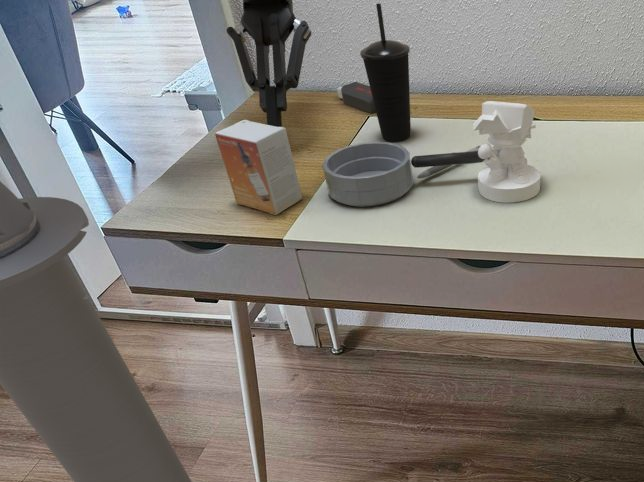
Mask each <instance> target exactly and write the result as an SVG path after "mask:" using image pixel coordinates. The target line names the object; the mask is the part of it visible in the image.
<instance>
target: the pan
mask: <svg viewBox="0 0 644 482" xmlns="http://www.w3.org/2000/svg"><path fill="white" fill-rule="evenodd" d="M322 170H323V174H324V175H323V176H324V179H325V183H326V187H327V188H326V189H327V192H328V194H329V196H330V198H331V199H333V200H334V201H336V202H338V203H341V204H343V205H346V206H348V207H349V206H351V207H358V208H361V207H362V208H363V207H364V208H365V207H367V208H368V207H376V206H381V205H385V204H388V203H391V202H394V201H395V200H398V199H400V198H401V197H403V196H404V195H405V194H406V193H408V192H409V191H410V189H411V188H412V187H413V185H414V177H413V176H414V175H413V168H412V164H411V153H410V152H409V150H408V149H407V147H404V146H402V145H401V144H398V143H395V142H389V141H368V142H367V141H366V142H360V143H355V144H349V145H347V146H344V147H341V148H338V149H336V150H335V151H333V152H331V153H330V154H329V155H328V156H326V158H324V160H323V162H322Z"/></svg>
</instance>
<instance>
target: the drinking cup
mask: <svg viewBox="0 0 644 482" xmlns="http://www.w3.org/2000/svg"><path fill="white" fill-rule="evenodd" d="M375 4H376V5H375V6H376V13H377V20H378V27H379V33H380V39H381V40H378V41H375V42H371V44H369V45H368V46H366V47H364V48H363V49H361V50H360V52H359V55H360V58H362V61H363V64H364V68H365V73H366V76H367V80H368V81H367V82H368V86H370V89H371V93H372V97H373V101H374V105H375V109H376V112H375V113H376V118H377V121H378V124H379V125H378V126H379V129H380V133H381V138H382V140H384V142H389V143H396V142H397V143H399V142H403V141H406V140H408V139H409V138H411V136H412V130H411V129H412V126H411V125H412V124H411V97H410V96H411V94H410V70H409V69H410V66H409V65H410V64H409V62H410V61H409V54H410V51H411V49H410V45H407V44H405V43H402V42H400V41H397V40H392V39H386V31H385V25H384V17H383V10H382V4H381V3H379V2H378V3H375Z"/></svg>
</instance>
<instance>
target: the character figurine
mask: <svg viewBox="0 0 644 482" xmlns="http://www.w3.org/2000/svg"><path fill="white" fill-rule="evenodd" d="M534 116H535V110H534V108H531V107H530V106H528V105H527V104H526V103H520V102H519V103H518V102H508V101H506V102H504V101H495V100H486V101H484V102H482V104H481V115H480V116H479V117H478V118H477V120H476V121H475V122H474V124H472V130H473V131H474V132H475V131H478V135H479V136H483V135H489V136H488V138H487V141H488V142H484V143H482V144H480V145H481V146H480V145H479V146H480V147H479V149H478V155H479V157H480V158H481V159H485V160H484V161H483V163H484V164H485V166H486V167H483V168H482V169H481V170H480V171H479V172H478V174H477V191H478V193H479V194H480V196H481V197H482V198H484V199H486V200H489V201H492V202H496V203H507V204H508V203H509V204H510V203H511V204H512V203H519V202H525V201H529V200H530V199H533V198H534V197H535V196H537V195H538V194H539V193H540V191H541V171H539V169H538V168H536V166H533V165H531V164H528V158H526V156H525V154H526V153H525V150H524V149H523V147H522V146H523V145H524V144H525V143H526V141H527V139H532V130H533V129H536V125H537V124H535V123H534ZM491 145H492V146H491Z"/></svg>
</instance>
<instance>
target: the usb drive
mask: <svg viewBox="0 0 644 482" xmlns="http://www.w3.org/2000/svg"><path fill="white" fill-rule="evenodd" d="M336 92H337V97H338V99H342V102H343V104H344V105H347V106H349V107H352V108H354V109H357V110H360V111H363V112H366V113H368V114H374V113H376V109H375V105H374V101H373V97H372V93H371V89H370V85H366V84H364V83H361V82H358V81H354V82H350V83H348V84H347V83H346V84H345V85H341V86H339V87H337V88H336Z"/></svg>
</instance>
